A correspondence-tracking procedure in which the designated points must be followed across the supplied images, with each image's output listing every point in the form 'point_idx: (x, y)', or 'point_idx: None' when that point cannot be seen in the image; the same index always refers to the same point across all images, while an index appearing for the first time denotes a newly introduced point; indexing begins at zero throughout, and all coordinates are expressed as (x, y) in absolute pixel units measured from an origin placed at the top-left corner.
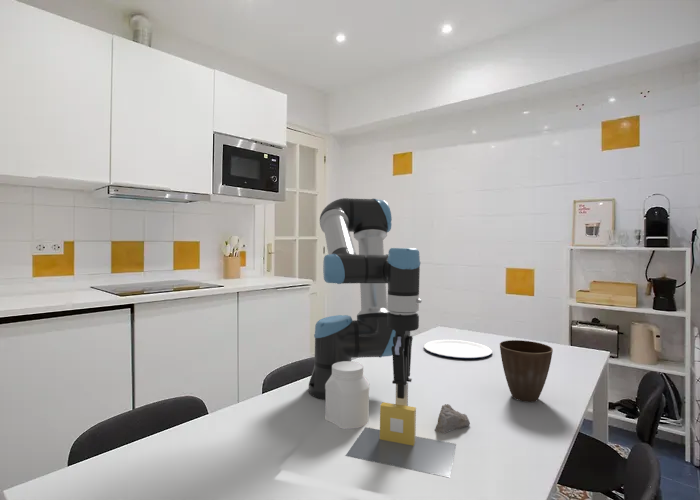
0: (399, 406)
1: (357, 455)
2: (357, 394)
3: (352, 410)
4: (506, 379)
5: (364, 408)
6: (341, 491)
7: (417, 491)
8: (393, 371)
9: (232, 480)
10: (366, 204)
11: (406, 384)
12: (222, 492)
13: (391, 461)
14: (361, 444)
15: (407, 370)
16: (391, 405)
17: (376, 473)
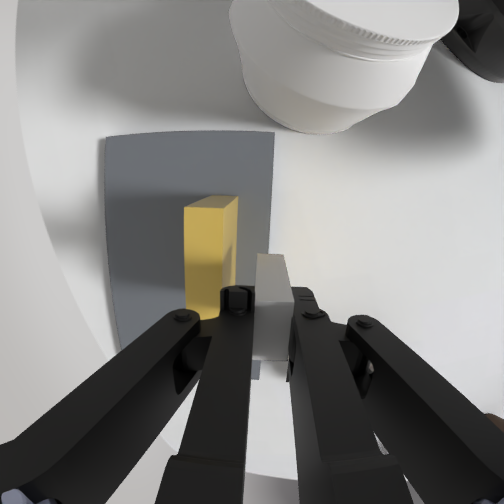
0: (204, 289)
1: (113, 164)
2: (260, 72)
3: (251, 78)
4: (501, 427)
5: (295, 114)
6: (37, 177)
7: (83, 305)
8: (118, 355)
9: (38, 17)
10: None
11: (253, 357)
12: (18, 30)
13: (119, 250)
14: (165, 153)
15: (293, 406)
16: (201, 255)
17: (95, 221)
